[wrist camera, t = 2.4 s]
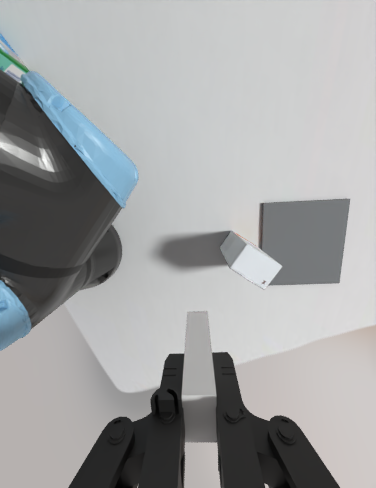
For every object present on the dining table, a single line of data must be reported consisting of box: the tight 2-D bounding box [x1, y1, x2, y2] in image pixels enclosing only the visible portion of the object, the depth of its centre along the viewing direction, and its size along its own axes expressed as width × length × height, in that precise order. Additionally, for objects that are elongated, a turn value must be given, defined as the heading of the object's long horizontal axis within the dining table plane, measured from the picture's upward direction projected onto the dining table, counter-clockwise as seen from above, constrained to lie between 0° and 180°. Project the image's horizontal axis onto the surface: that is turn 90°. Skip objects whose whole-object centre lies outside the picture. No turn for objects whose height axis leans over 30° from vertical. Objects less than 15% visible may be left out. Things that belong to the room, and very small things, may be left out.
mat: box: [261, 199, 350, 285], centre depth 38 cm, size 15×16×1 cm
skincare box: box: [220, 231, 282, 290], centre depth 33 cm, size 6×4×12 cm
